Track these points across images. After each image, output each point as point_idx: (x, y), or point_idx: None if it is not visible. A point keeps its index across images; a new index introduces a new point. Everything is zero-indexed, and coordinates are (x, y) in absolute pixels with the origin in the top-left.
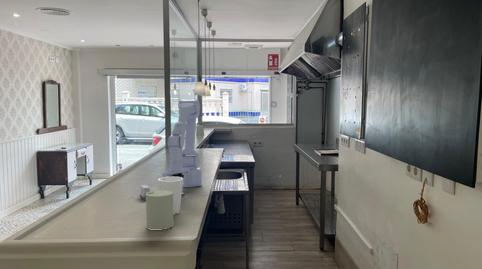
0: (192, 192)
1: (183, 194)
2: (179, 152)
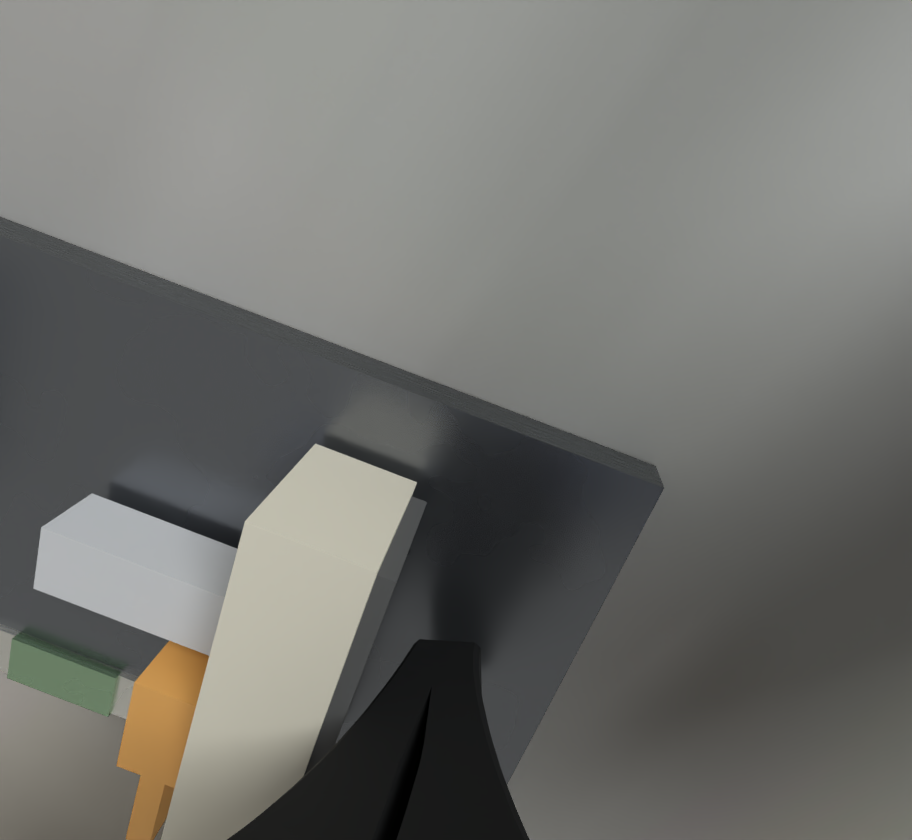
0: (761, 764)
1: None
2: None
